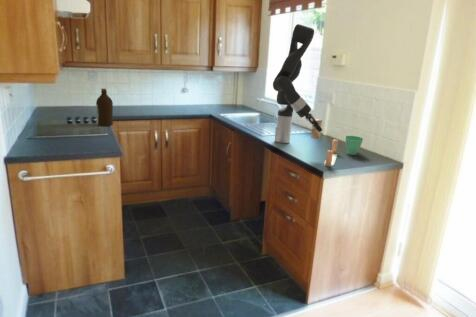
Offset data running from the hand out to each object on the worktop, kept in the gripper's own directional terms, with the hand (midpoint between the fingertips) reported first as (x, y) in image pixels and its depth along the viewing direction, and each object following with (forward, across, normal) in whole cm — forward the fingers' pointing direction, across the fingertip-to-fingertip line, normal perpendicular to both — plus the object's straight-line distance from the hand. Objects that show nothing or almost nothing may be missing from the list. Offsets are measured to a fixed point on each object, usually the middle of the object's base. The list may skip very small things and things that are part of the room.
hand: (319, 129), depth 199 cm
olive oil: (-86, +52, +109) cm, 148 cm away
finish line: (+17, -2, +6) cm, 18 cm away
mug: (+29, +15, -6) cm, 33 cm away
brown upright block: (+2, 0, +5) cm, 5 cm away
